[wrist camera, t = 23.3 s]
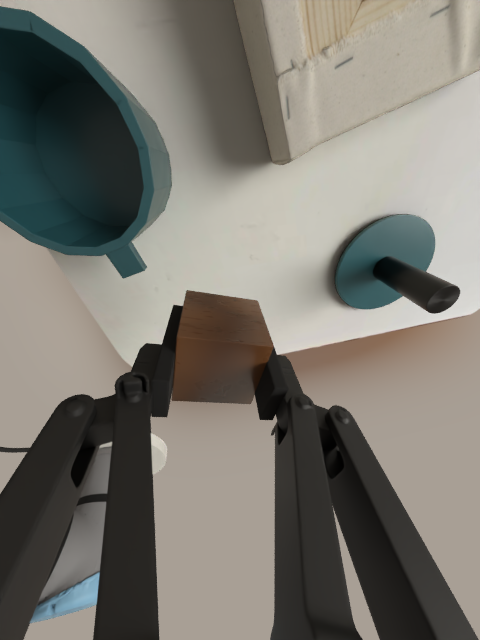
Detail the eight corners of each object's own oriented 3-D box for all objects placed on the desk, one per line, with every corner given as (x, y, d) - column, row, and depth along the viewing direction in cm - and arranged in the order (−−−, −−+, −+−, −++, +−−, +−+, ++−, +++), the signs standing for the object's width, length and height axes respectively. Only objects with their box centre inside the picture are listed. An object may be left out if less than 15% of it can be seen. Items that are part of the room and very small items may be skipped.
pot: (108, 266, 29) (70, 300, 21) (-38, 66, 19) (-218, -11, 11) (201, 230, 28) (197, 253, 20) (102, -7, 17) (12, -155, 9)
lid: (336, 316, 38) (375, 362, 29) (329, 235, 30) (381, 263, 21) (420, 289, 37) (489, 327, 28) (437, 196, 29) (543, 207, 20)
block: (181, 346, 17) (171, 401, 13) (186, 289, 14) (176, 336, 10) (242, 352, 18) (251, 404, 14) (257, 300, 16) (274, 346, 11)
